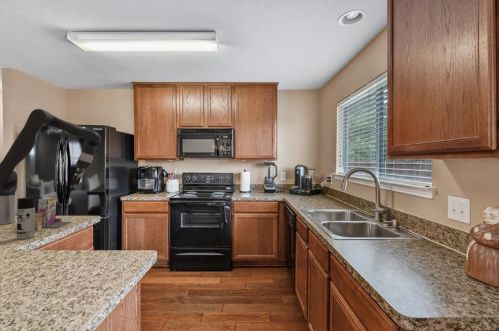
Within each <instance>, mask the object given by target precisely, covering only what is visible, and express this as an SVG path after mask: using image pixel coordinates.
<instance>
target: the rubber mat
mask: <svg viewBox="0 0 499 331" xmlns="http://www.w3.org/2000/svg"><path fill="white" fill-rule="evenodd" d="M70 223H71V221H62V222H57V223H54V224H52V225H49V226H46V227H44V229H59V228H60V227H63V226H65V225H68V224H70Z"/></svg>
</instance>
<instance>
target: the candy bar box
mask: <svg viewBox="0 0 499 331" xmlns="http://www.w3.org/2000/svg"><path fill="white" fill-rule="evenodd" d="M37 202H38V203H37V213H42V228H45V227H46V226H49V225H52V224H55V221H56V218H57V217H56V213H57V197H56V196H55V197H54V196H53V197H51V196H49V197H43V198H40V199H38V200H37Z"/></svg>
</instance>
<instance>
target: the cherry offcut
mask: <svg viewBox="0 0 499 331" xmlns="http://www.w3.org/2000/svg"><path fill="white" fill-rule="evenodd" d="M39 221H42V213H38V212H35V223H36V222H39Z"/></svg>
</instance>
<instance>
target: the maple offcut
mask: <svg viewBox="0 0 499 331" xmlns="http://www.w3.org/2000/svg"><path fill="white" fill-rule="evenodd" d="M35 224H38V230H41V228H42V229H43V227H42V221H39V222H36V223H35Z"/></svg>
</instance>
